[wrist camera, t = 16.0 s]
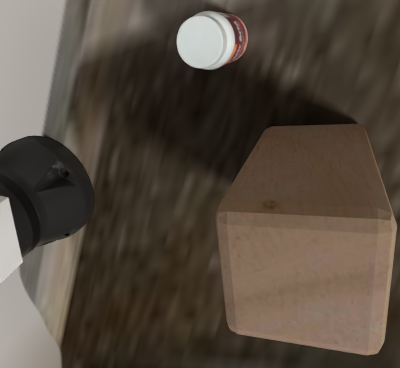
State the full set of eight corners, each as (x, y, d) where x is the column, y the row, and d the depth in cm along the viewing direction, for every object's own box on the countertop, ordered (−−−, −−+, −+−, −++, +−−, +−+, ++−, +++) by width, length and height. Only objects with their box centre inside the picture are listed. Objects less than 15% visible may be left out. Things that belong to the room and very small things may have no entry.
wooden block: (263, 124, 38) (208, 208, 21) (366, 120, 35) (402, 217, 18) (267, 207, 42) (223, 338, 25) (360, 212, 39) (385, 365, 21)
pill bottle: (246, 65, 36) (225, 76, 29) (201, 61, 38) (171, 70, 30) (251, 13, 34) (230, 11, 27) (204, 11, 36) (172, 8, 28)
